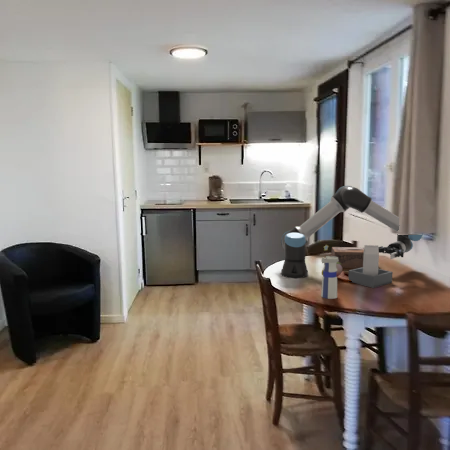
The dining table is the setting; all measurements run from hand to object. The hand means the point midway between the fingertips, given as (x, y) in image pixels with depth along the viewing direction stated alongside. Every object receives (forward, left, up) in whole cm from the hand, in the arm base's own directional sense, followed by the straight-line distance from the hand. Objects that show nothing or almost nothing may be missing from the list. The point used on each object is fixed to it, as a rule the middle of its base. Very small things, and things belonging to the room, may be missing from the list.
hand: (379, 254), depth 251 cm
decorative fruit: (-19, +15, -14) cm, 28 cm away
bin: (-9, -2, -14) cm, 16 cm away
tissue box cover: (+15, +28, -14) cm, 35 cm away
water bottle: (-46, -6, -14) cm, 48 cm away
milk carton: (-9, -1, -13) cm, 16 cm away
